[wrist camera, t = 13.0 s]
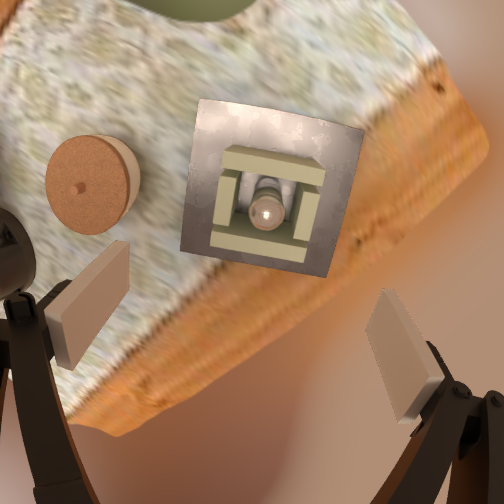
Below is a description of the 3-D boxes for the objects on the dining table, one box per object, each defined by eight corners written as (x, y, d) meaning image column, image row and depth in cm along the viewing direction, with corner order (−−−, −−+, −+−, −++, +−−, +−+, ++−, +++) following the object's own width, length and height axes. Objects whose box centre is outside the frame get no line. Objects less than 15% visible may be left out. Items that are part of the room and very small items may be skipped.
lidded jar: (77, 133, 35) (32, 142, 26) (153, 128, 35) (117, 133, 26) (82, 213, 39) (42, 238, 31) (154, 215, 39) (124, 244, 30)
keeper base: (183, 246, 40) (154, 290, 30) (202, 99, 33) (174, 92, 23) (324, 272, 41) (339, 323, 30) (361, 130, 33) (396, 136, 23)
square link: (220, 222, 37) (209, 245, 31) (232, 144, 34) (223, 150, 27) (298, 236, 37) (303, 262, 31) (315, 160, 34) (325, 170, 27)
